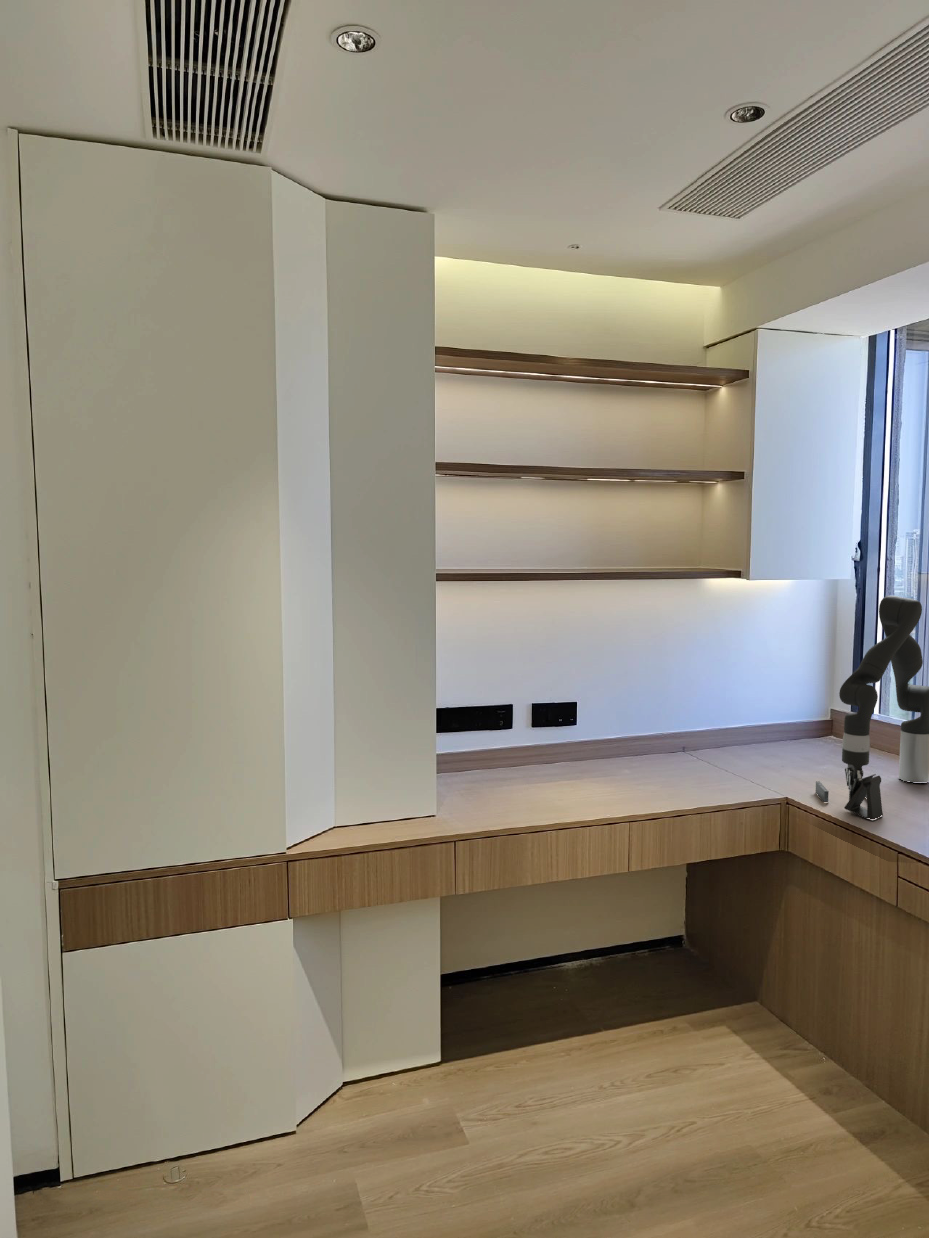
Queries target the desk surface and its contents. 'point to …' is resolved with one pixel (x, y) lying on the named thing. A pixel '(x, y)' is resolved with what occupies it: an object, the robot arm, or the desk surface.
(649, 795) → the desk surface
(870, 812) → the dark a-frame stand
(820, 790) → the chute
